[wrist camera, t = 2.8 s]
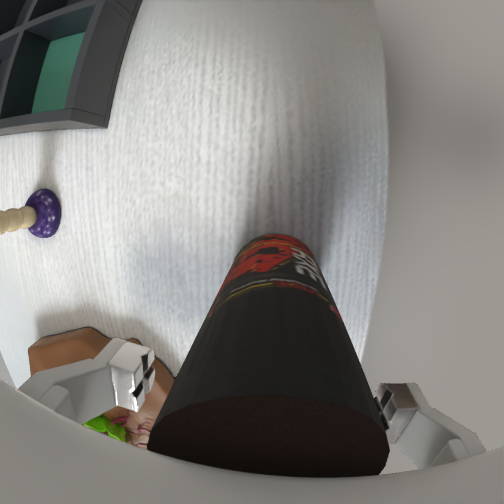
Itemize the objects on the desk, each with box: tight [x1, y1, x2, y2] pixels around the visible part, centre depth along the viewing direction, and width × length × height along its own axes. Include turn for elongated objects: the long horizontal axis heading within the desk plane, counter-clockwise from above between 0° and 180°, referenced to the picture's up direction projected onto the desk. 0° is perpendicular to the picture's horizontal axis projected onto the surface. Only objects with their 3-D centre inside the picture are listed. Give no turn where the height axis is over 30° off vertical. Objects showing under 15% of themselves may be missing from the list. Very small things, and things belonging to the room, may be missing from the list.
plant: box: [28, 328, 175, 450], centre depth 20 cm, size 20×20×11 cm
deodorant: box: [147, 234, 390, 478], centre depth 13 cm, size 6×6×15 cm
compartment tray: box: [0, 0, 142, 136], centre depth 14 cm, size 18×18×5 cm
